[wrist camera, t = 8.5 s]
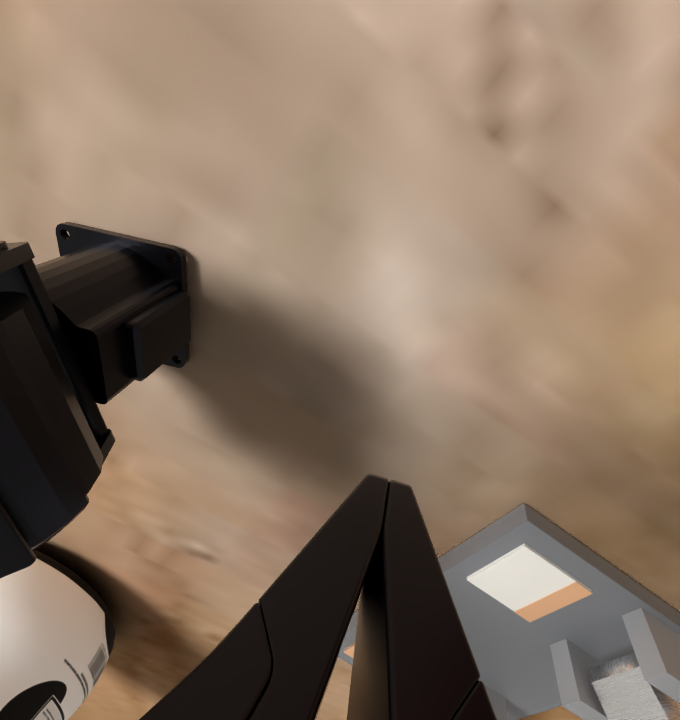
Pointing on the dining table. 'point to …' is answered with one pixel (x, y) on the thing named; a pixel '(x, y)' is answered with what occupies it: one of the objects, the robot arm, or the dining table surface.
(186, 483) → the dining table surface
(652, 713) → the lever
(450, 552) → the switch box
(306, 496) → the dining table surface
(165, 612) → the dining table surface
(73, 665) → the milk container
